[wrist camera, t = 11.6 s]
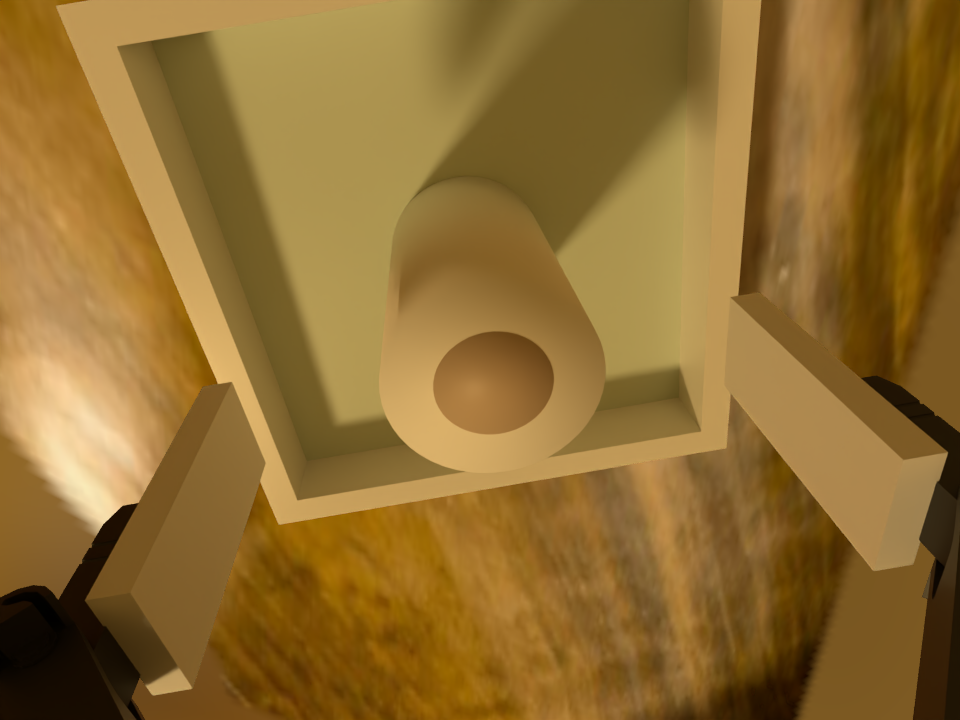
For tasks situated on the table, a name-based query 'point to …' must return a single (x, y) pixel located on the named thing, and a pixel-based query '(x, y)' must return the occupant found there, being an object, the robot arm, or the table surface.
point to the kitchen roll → (483, 333)
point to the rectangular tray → (412, 168)
